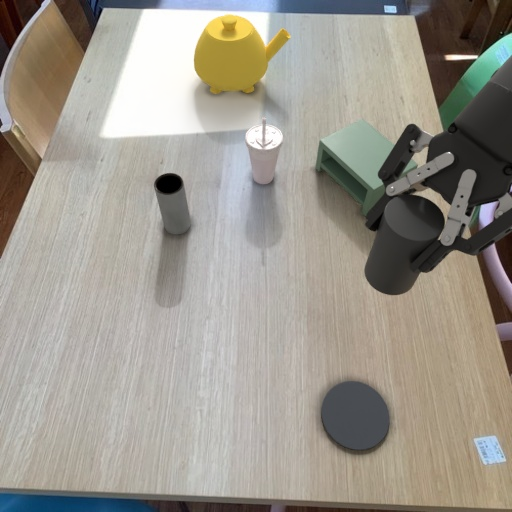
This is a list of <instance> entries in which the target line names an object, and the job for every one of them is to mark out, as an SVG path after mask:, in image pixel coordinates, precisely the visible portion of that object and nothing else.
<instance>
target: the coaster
mask: <svg viewBox="0 0 512 512" xmlns="http://www.w3.org/2000/svg"><path fill="white" fill-rule="evenodd" d="M320 409H321V410H320V414H321V415H320V416H321V422H322V424H323V428H324V429H325V431H326V433H327V434H328V435H329V437H330V438H331V439H332V440H333V441H334V442H335V443H337V444H338V445H339V446H341V447H343V448H346V449H348V450H351V451H365V450H369V449H372V448H374V447H376V446H377V445H379V444H380V443H381V442H382V441H383V440H384V438H386V436H387V433H388V431H389V427H390V412H389V408H388V405H387V403H386V401H385V399H384V398H383V397H382V395H381V394H380V393H379V392H378V391H377V390H376V389H375V388H373V387H372V386H370V385H369V384H366V383H364V382H361V381H356V380H348V381H342V382H340V383H337V384H336V385H333V386H332V387H331V388H330V389H329V391H328V392H327V393H326V394H325V396H324V397H323V401H322V403H321V408H320Z"/></svg>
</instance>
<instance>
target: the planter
mask: <svg viewBox="0 0 512 512" xmlns="http://www.w3.org/2000/svg"><path fill="white" fill-rule="evenodd" d="M153 187H154V192H155V196H156V200H157V203H158V204H157V205H158V207H159V211H160V215H161V219H162V223H163V226H164V229H165V231H166V232H167V233H169V234H170V235H175V236H177V235H178V236H179V235H182V234H185V233H186V232H187V231H189V229H190V228H191V225H192V224H191V223H192V221H191V216H190V210H189V205H188V204H189V203H188V199H187V193H186V187H185V182H184V179H183V178H182V176H180V175H179V174H177V173H176V172H175V173H174V172H166V173H163V174H160V175H159V176H158V177H156V179H155V180H154V183H153Z"/></svg>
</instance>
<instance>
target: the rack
mask: <svg viewBox="0 0 512 512" xmlns="http://www.w3.org/2000/svg"><path fill="white" fill-rule="evenodd" d="M394 146H395V143H393V141H391V140H390V139H388V138H387V137H386V136H385V135H383V134H382V133H381V132H380V131H379V130H377V129H376V128H375V127H374V126H372V125H371V123H369V122H368V121H367V120H366V119H364V118H360V119H359V120H356V121H354V122H352V123H350V124H348V125H346V126H344V127H343V128H340V129H338V130H337V131H334V132H332V133H330V134H328V135H326V136H325V137H322V138H320V139H319V142H318V148H317V153H316V154H317V156H316V161H315V169H316V171H318V172H319V173H320V172H322V171H325V173H327V174H328V175H329V176H330V178H332V179H333V181H335V182H336V183H338V185H339V186H341V188H342V189H343V190H344V191H346V192H347V194H349V196H351V197H352V198H353V199H354V200H355V201H356V202H357V203H358V204H359V205H360V206H361V207H362V208H361V211H360V213H361V214H362V215H363V216H364V217H366V215H367V213H368V212H369V210H370V209H371V208H372V207H373V206H374V205H375V204H376V202H377V201H378V200H379V199H380V198H381V197H382V196H383V194H384V193H385V186H384V184H383V182H382V180H381V179H379V177H378V171H379V170H380V168H381V167H382V165H383V163H384V162H385V160H386V159H387V157H388V155H389V154H390V152H391V150H392V149H393V147H394ZM418 166H419V164H418V163H417V162H416V161H415V160H414V159H413V158H411V160H410V162H409V163H408V165H407V166H406V168H405V169H404V171H403V173H402V174H401V176H400V177H399V179H401V178H403V177H405V176H406V174H407V173H409V172H411V171H413V170H415V169H417V168H419V167H418Z"/></svg>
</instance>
